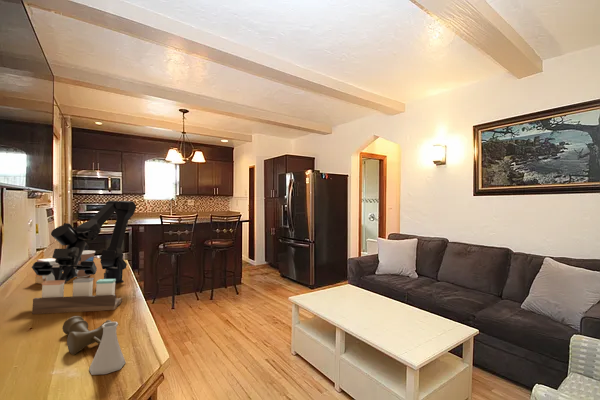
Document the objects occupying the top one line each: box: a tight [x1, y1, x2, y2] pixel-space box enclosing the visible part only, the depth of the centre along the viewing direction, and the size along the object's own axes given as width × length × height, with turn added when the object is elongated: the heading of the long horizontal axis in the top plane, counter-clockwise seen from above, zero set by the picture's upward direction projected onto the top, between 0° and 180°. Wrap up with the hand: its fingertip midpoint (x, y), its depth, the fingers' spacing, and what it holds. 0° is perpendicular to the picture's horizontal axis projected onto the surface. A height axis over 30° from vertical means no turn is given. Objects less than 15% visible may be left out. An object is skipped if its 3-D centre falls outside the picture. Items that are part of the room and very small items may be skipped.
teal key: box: [95, 278, 116, 296], centre depth 104 cm, size 3×5×8 cm, turn 106°
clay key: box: [41, 280, 66, 298], centre depth 100 cm, size 3×5×8 cm, turn 106°
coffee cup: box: [76, 249, 96, 279], centre depth 144 cm, size 10×10×12 cm
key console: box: [31, 294, 123, 315], centre depth 103 cm, size 9×24×5 cm, turn 106°
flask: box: [89, 321, 126, 376], centre depth 68 cm, size 7×7×10 cm
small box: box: [34, 257, 58, 285], centre depth 130 cm, size 8×6×10 cm
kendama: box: [61, 315, 113, 355], centre depth 78 cm, size 6×10×20 cm
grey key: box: [72, 277, 95, 296], centre depth 104 cm, size 3×5×8 cm, turn 106°
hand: (56, 288), depth 102 cm, fingers closed
